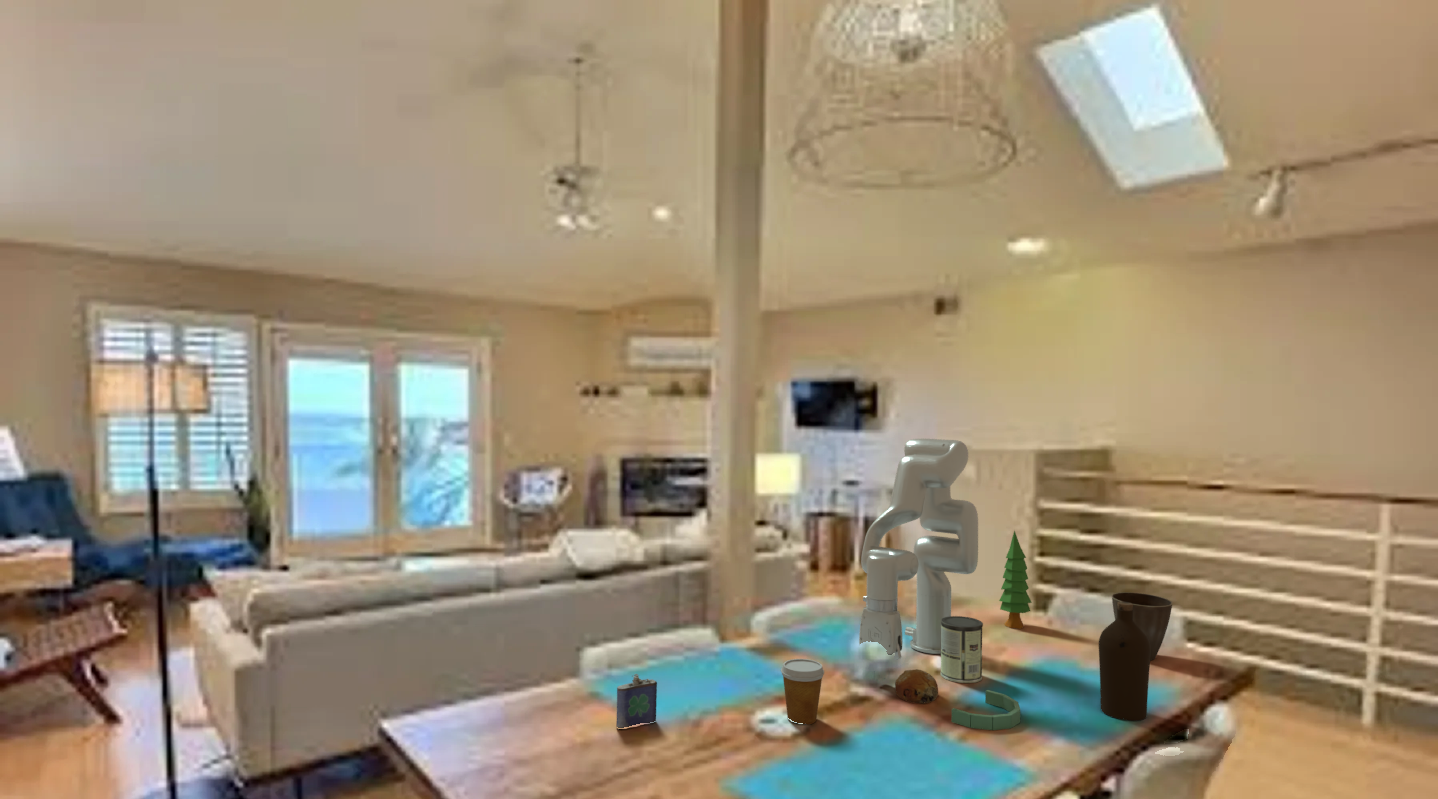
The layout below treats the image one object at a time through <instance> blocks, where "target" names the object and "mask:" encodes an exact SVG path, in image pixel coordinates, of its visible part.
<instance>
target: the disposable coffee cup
mask: <svg viewBox="0 0 1438 799" xmlns="http://www.w3.org/2000/svg"><path fill="white" fill-rule="evenodd" d="M780 672H781V675H782V678H783V687H784V697H785V706H786V715H787V719H788V718H789V719H791V720H792V721H794V722H797V723H803V724H807V725H812V724H814V723H815V722H817V715H818V711H819V703H820V696H821V695H820V694H821V687H822V681H823V680H822V679H823V677H824V675H825V670H824V667H823V664H822V663H821V662H818V661H817V660H814V659H808V658H794V659H793V658H792V659H788V660H786V661H784V662H783V663H782V667H781V668H780Z"/></svg>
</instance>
